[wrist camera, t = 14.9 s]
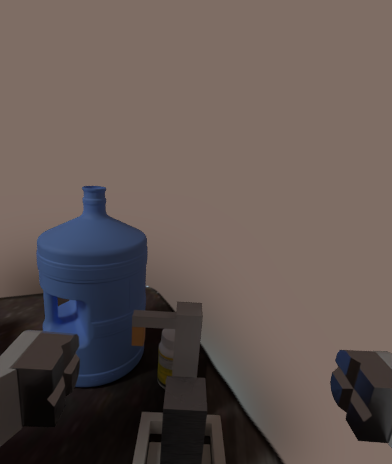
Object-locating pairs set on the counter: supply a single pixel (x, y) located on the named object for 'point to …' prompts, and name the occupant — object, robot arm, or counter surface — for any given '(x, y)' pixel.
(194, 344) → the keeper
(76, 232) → the water jug
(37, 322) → the counter surface
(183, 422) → the link block
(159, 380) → the supplement bottle
